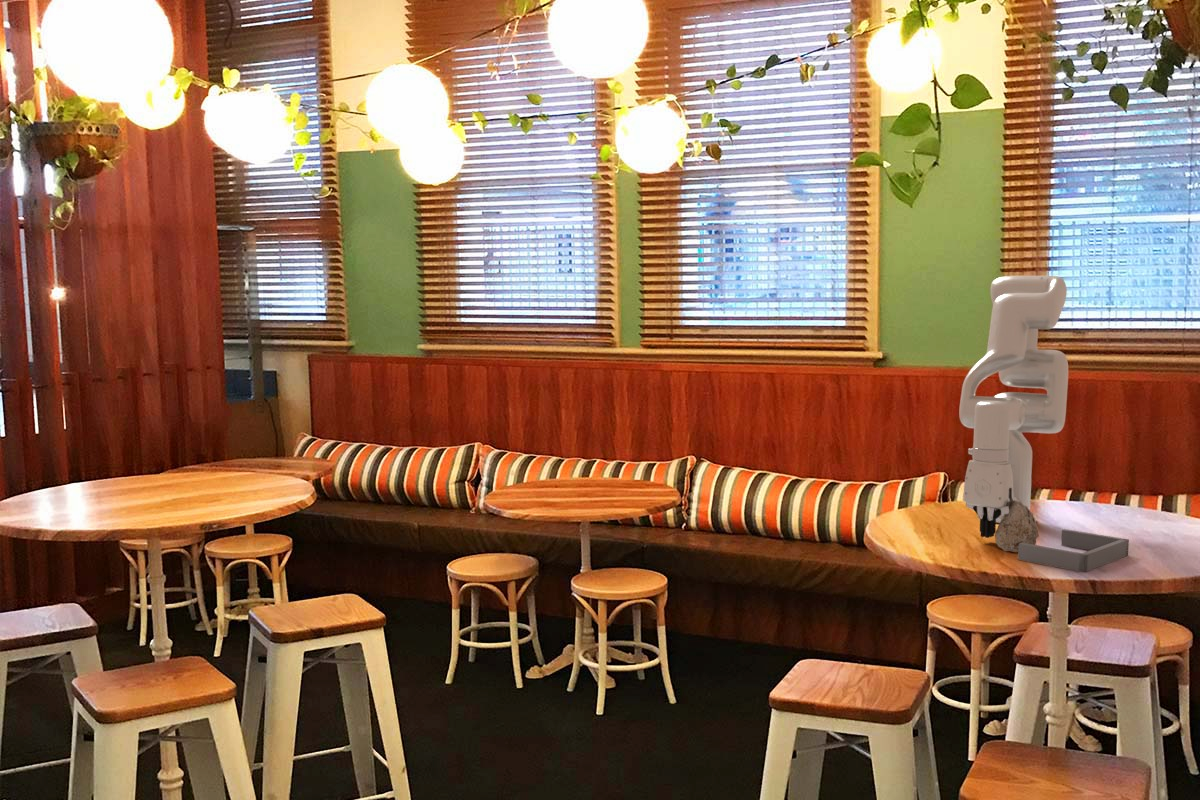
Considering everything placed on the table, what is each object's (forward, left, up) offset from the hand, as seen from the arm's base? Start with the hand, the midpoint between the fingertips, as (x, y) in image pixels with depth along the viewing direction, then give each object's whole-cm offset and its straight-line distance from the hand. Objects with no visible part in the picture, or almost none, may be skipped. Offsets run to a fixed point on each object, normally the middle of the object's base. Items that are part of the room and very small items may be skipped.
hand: (987, 536), depth 261 cm
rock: (+7, 0, -2) cm, 7 cm away
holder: (+20, 0, -1) cm, 20 cm away
